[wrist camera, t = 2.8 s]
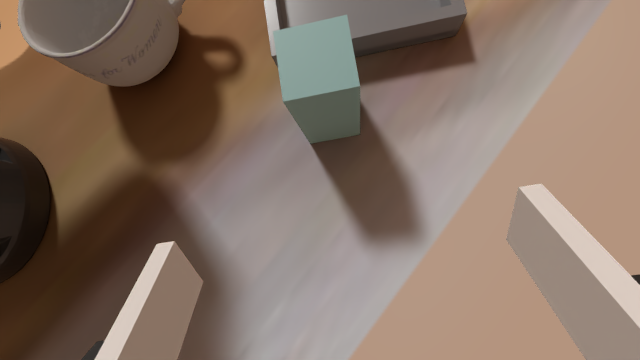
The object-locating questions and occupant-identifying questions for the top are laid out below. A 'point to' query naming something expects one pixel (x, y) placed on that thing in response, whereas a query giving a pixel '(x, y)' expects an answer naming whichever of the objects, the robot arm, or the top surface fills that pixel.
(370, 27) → the tray
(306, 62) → the teal block
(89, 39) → the teacup
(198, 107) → the top surface
